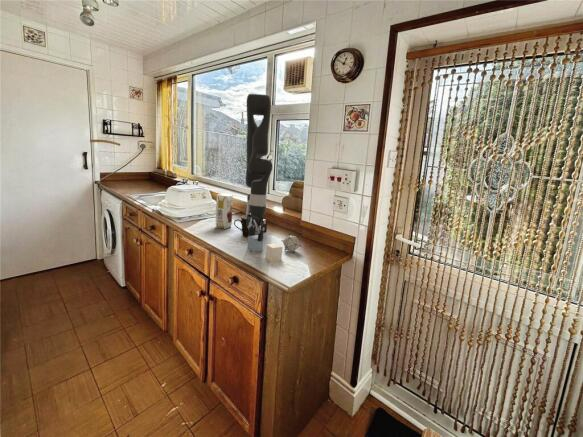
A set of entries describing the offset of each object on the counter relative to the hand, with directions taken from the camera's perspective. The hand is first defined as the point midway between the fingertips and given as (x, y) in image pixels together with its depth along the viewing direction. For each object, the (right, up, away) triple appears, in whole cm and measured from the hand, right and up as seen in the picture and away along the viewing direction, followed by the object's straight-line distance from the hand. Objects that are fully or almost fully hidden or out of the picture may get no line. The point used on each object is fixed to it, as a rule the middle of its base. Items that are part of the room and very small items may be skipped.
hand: (255, 238), depth 137 cm
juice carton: (-23, +4, +35) cm, 42 cm away
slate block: (0, -5, +2) cm, 5 cm away
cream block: (+9, -8, -9) cm, 15 cm away
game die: (+16, -6, +3) cm, 18 cm away
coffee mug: (-8, 0, +23) cm, 24 cm away
